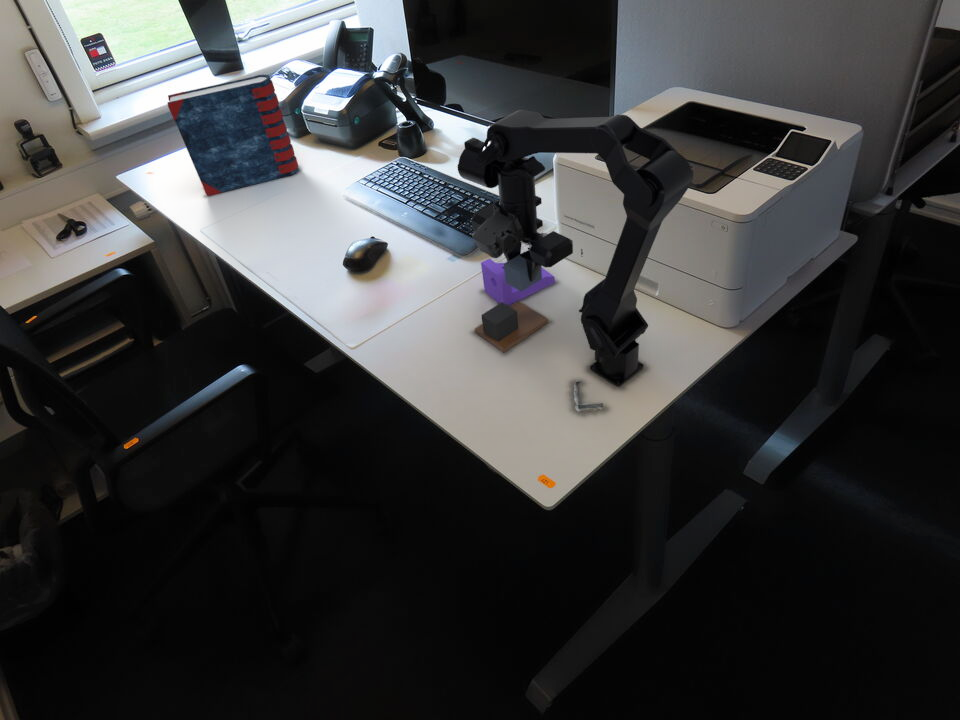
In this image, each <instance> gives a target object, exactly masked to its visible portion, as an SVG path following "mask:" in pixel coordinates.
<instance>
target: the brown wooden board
mask: <svg viewBox="0 0 960 720" xmlns="http://www.w3.org/2000/svg"><path fill="white" fill-rule="evenodd" d="M509 307H511V308H513V309H514V310H516V311H517V317H518V327H519V328H518V329H517V330H515V331H514V332H512V333H511V334H509V335H508V336H506V337H505V338H503V339H502V340H500V341H499V342H498V341H496V340H495V339H493V338H492V337H490V336H489V335H487V334H486V333H484V331H483V324H482V323H481V324H480V325H478V326H477V327H475V328H474V334H476V335H477V336H479V337H480V338H482V339H483V340H485V341H486V342H488V343H490V345H492V346H494V347H495V348H497V349H498V350H500V351H501V352H503V353H506V352H507V351H509V350H510V349H511V348H513V347H515V346H517V344H520V342H522V341H523V340H525V339H527V338H528V337H529V336H531V335H532V334H534V333H536V332H537V331H539V330H540V329H541V328H543V327H544V326H546V325H547V324H548V323H549V318H548V317H546V316H544V315H543V314H541V313H540V312H538V311H537V310H535V309H532V308H531V307H529V306H527V305H526V304H524V303H522V302H521V301H520V300H519V301H517V302H515V303H513V304H511V305H509Z"/></svg>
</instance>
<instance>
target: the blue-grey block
mask: <svg viewBox="0 0 960 720" xmlns="http://www.w3.org/2000/svg"><path fill="white" fill-rule="evenodd" d="M524 252H525V251H523V252H521V254H523V253H524ZM521 254H520V255H521ZM520 255H518V256H516V257H515V258H513V259H511V260H510V261H506V262H504V263H505V264H504V271H505V281H506V283H507V284H509V285H510V286H512V287H514V288H516V289H517V290H519V291H521V292H522V291H523V290H525V289H527V288H528V287H530V286H531V285H533V284H534V283H536V282H538V281H539V280H541V279H542V269H540V271H539V273H538V275H537V277H536V279H535V280H534V281H532V282H531V281H530V280H529V276H528V271H527V264H526V259H524V258H522V257H520Z"/></svg>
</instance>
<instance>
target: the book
mask: <svg viewBox="0 0 960 720" xmlns="http://www.w3.org/2000/svg"><path fill="white" fill-rule="evenodd" d="M275 91H276V89H275V85H274V83H273V80H272V79H271V76H270V75H269V74H258V75H254V76H249V77H245V78H241V79H236V80H231V81H227V82H222V83H217V84H214V85H209V86H206V87H200V88H196V89H191V90H186V91H180V92H176V93H173V94H169V95H167V97H168V101H167V108H168V109H169V112H170V114H171V117H172V118H173V121H174V122H175V125H176V127H177V129H178V131H179V134H180V136H181V139H182V141H183V143H184V145H185V148H186V150H187V153H188V155H189V157H190V160H191V162H192V164H193V167H194V169H195V172H196V174H197V176H198V178H199V181H200V183H201V185H202V188H203V190H204V193H205V195H206V197H209V196H214V195H218V194H221V193H225V192H230V191H233V190H238V189H242V188H245V187H250V186H254V185H257V184H262V183H266V182H269V181H275V180H279V179H282V178H286V177H291V176H294V175H295V174H297V173H298V172H299V171H300V169H299V162H298V160H297V156H296V154H295V150H294V146H293V144H292V140H291V137H290V133H289V132H288V128H287V125H286V122H285V120H284V115H283V110H282V108H281V106H280V101H279V98H278V95H277V94H276V92H275Z"/></svg>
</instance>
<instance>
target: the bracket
mask: <svg viewBox="0 0 960 720" xmlns="http://www.w3.org/2000/svg"><path fill="white" fill-rule="evenodd" d="M505 263H506V262H495V261H494V260H493V259H491V258H487V259H485V260H483V261H480V267H481V273H482V280H483V281H482V283H483V288H484V292H485V293H486V294H487V295H488V296H489V297H490V298H491V299H493V300H494V301H495V302H497V303H498V304H500V303H501V302H503V303H504V304H506V305H508V306H509V307H510V306H511V305H513V304H514V303H516V302H518V301H519V302H520V301H521V300H523V299H525V298H527V297H529V296H531V295H533V294H535V293H537V292H539V291H541V290H543V289H546V288H547V287H549V286H551V285H553V284H555V283H556V282H555V275H554V274H552V273H550V272H549V271H548V270H546V269H545V268H544V267H543V266H542V267H541V269H542V279H541V280H539V281H538V282H536V283H534V284H533V285H531V286H530V287H528V288H527V289H525V290H523V291H522V292H521V291H519V290H517V289H516V288H514V287H512V286H510V285H509V284H507V283H506V281H505V271H504V264H505Z"/></svg>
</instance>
